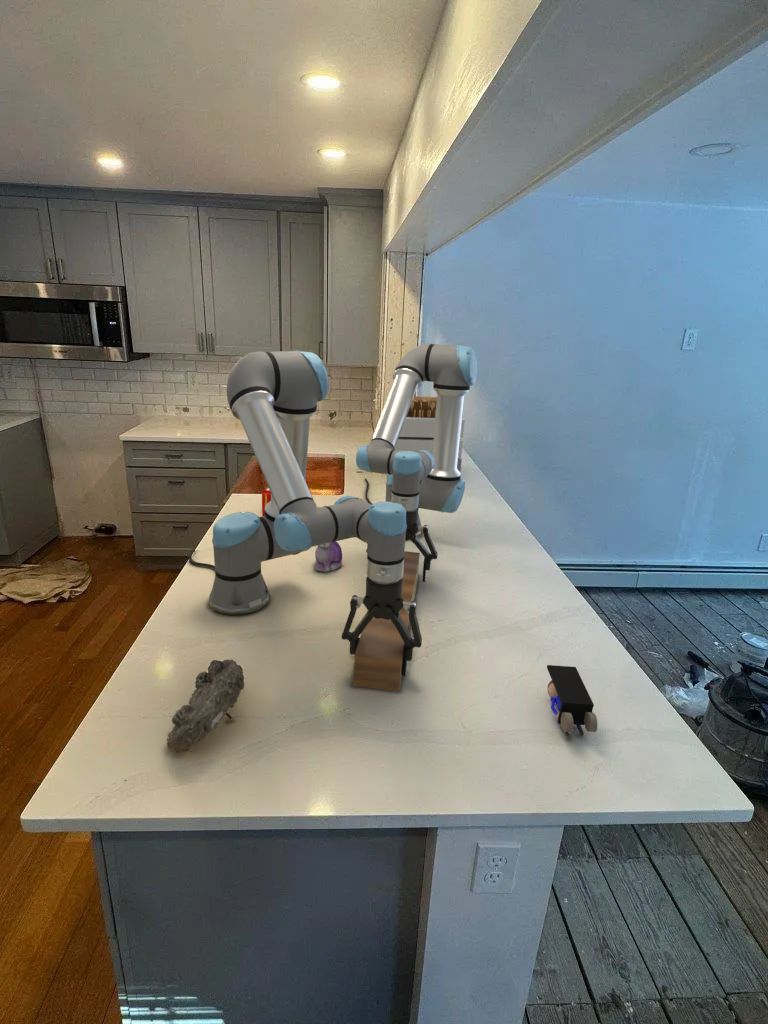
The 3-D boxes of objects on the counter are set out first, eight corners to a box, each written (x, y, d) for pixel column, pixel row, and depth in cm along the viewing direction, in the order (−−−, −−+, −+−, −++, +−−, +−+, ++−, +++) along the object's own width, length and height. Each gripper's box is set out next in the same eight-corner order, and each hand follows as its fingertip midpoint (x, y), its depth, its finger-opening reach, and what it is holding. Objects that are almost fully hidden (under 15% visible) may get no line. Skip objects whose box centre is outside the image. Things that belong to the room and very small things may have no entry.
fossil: (192, 660, 117) (244, 628, 112) (224, 691, 120) (276, 661, 115) (142, 746, 98) (202, 712, 93) (182, 779, 101) (242, 748, 96)
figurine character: (595, 749, 106) (570, 690, 120) (603, 719, 103) (577, 662, 116) (559, 748, 106) (538, 690, 119) (567, 718, 103) (545, 662, 116)
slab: (386, 572, 170) (387, 549, 168) (418, 575, 169) (419, 552, 167) (353, 685, 119) (354, 655, 116) (399, 691, 118) (401, 660, 115)
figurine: (319, 575, 166) (320, 527, 161) (307, 561, 175) (307, 516, 170) (349, 569, 170) (350, 523, 165) (336, 556, 179) (336, 512, 174)
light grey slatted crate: (382, 463, 289) (386, 382, 275) (445, 464, 293) (451, 384, 279) (390, 482, 257) (394, 392, 243) (460, 483, 261) (468, 394, 247)
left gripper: (327, 579, 114) (326, 673, 121) (438, 590, 112) (430, 685, 119) (334, 564, 121) (333, 653, 128) (439, 574, 119) (432, 664, 126)
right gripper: (357, 508, 154) (355, 579, 161) (449, 516, 151) (443, 587, 159) (362, 500, 161) (359, 567, 168) (450, 507, 158) (443, 576, 166)
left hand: (380, 669), depth 124 cm, fingers closed on slab, 10 cm apart
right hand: (400, 577), depth 163 cm, fingers open, 13 cm apart
